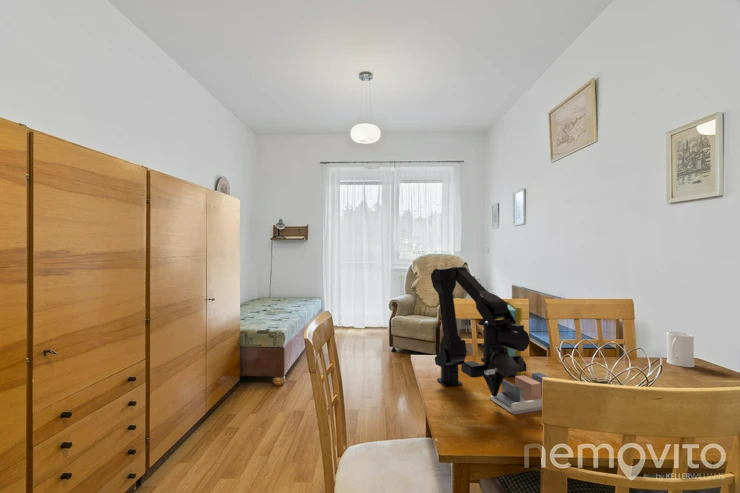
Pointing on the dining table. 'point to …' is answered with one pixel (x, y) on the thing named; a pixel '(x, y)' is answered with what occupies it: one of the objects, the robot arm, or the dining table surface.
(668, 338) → the mug
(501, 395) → the bookend
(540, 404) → the shelf
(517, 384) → the book block
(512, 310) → the book
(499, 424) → the dining table surface
